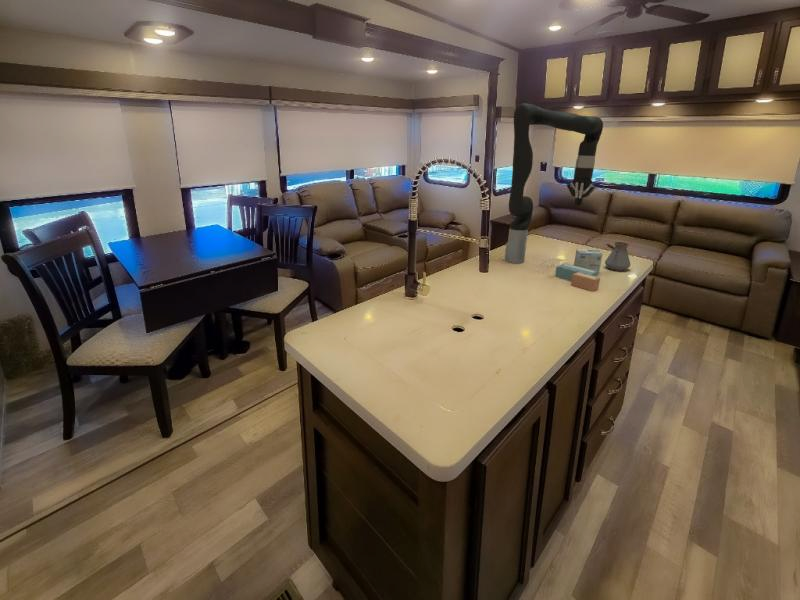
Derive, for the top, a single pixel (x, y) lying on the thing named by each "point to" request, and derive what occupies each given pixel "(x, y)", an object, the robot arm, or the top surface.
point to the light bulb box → (588, 259)
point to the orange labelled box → (585, 281)
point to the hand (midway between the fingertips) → (577, 206)
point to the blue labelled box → (572, 271)
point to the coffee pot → (618, 257)
